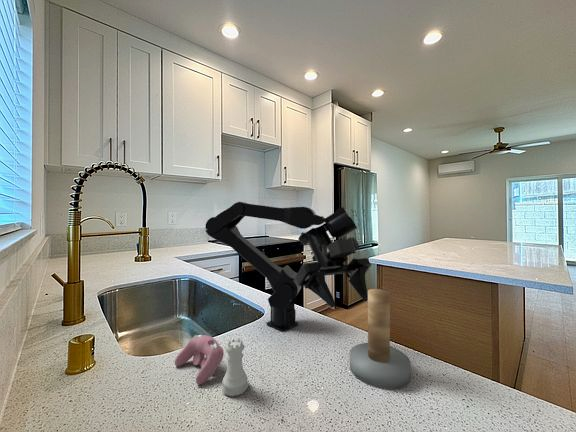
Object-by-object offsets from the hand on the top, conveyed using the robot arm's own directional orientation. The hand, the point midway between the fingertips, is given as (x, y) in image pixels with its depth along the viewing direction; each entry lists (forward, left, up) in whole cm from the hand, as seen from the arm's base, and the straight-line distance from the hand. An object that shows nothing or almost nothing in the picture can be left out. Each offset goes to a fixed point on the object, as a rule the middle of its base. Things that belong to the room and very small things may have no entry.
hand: (351, 303), depth 55 cm
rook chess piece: (-9, -24, -11) cm, 28 cm away
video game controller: (-19, -26, -11) cm, 34 cm away
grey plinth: (+7, -2, -10) cm, 13 cm away
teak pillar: (+7, -2, -8) cm, 11 cm away
